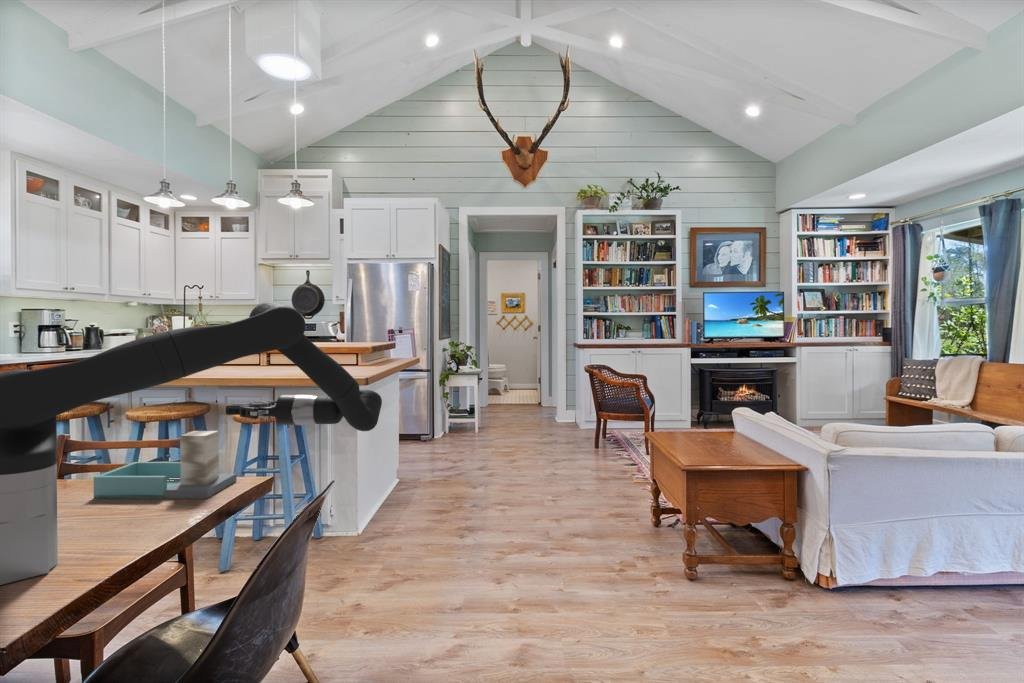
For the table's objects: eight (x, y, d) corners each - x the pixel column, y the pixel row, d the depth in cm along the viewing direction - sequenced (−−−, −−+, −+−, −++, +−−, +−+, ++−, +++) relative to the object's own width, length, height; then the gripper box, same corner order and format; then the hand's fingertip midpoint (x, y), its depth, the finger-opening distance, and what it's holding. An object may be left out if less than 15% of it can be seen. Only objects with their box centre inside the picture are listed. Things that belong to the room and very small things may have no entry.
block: (218, 477, 132) (218, 430, 132) (205, 484, 126) (205, 435, 126) (194, 477, 132) (194, 430, 131) (180, 484, 126) (180, 435, 125)
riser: (236, 480, 136) (236, 473, 136) (207, 498, 122) (207, 489, 122) (197, 480, 136) (197, 473, 136) (163, 498, 122) (163, 489, 122)
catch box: (197, 480, 136) (197, 462, 135) (163, 498, 122) (163, 477, 122) (134, 480, 135) (134, 461, 135) (93, 498, 121) (93, 477, 121)
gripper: (309, 391, 136) (242, 391, 135) (288, 398, 122) (213, 397, 122) (309, 419, 136) (242, 419, 136) (288, 430, 123) (213, 429, 122)
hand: (228, 409), depth 129 cm, fingers closed
